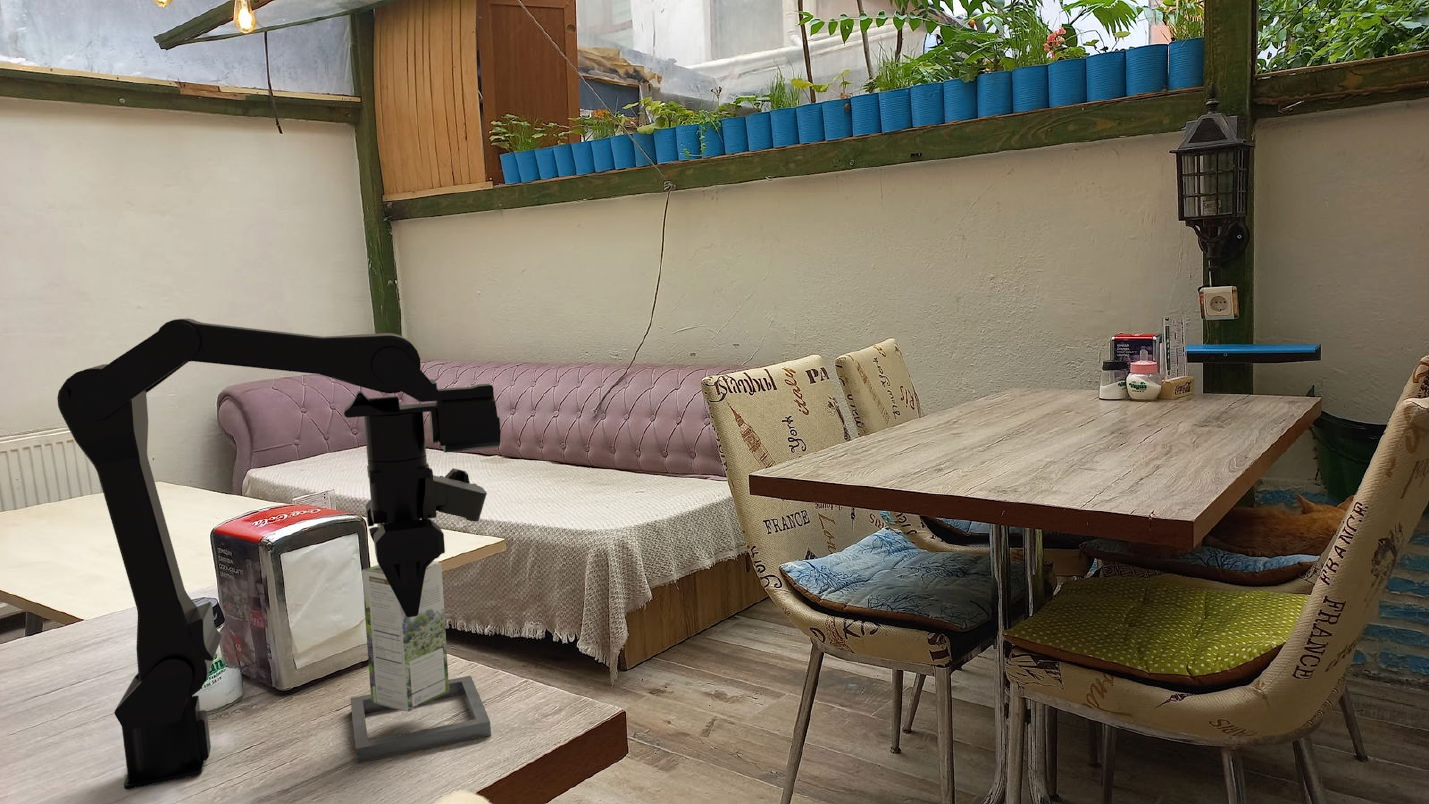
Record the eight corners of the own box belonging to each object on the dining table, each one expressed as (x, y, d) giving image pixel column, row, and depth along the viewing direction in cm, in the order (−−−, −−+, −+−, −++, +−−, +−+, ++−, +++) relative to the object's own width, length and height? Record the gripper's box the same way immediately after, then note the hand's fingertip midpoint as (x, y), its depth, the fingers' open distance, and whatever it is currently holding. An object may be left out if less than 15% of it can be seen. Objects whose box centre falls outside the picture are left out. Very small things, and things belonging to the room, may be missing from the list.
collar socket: (356, 763, 94) (355, 749, 94) (351, 711, 106) (350, 698, 106) (491, 735, 99) (490, 721, 99) (471, 688, 111) (470, 675, 111)
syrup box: (413, 683, 106) (402, 553, 104) (452, 693, 103) (441, 559, 101) (370, 703, 101) (358, 567, 99) (409, 714, 98) (398, 574, 96)
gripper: (492, 463, 93) (503, 619, 95) (464, 437, 110) (473, 570, 112) (370, 476, 89) (383, 639, 91) (360, 446, 106) (371, 584, 108)
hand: (408, 604), depth 101 cm, fingers closed on syrup box, 7 cm apart
